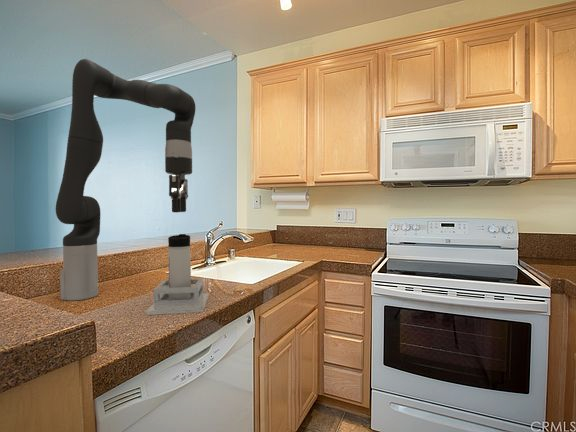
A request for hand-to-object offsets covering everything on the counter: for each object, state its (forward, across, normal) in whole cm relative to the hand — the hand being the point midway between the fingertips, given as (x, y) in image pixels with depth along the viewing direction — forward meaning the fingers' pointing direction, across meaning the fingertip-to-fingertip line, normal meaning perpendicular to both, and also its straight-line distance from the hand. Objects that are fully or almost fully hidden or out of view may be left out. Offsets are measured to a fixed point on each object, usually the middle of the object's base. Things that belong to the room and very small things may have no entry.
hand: (179, 212), depth 88 cm
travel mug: (+27, 0, 0) cm, 27 cm away
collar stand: (+28, 0, 0) cm, 28 cm away
